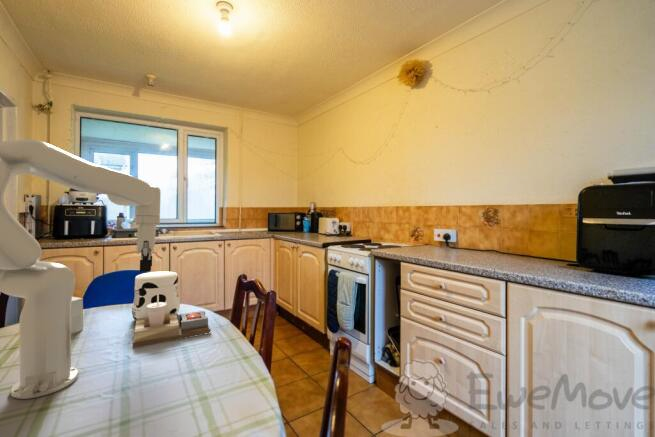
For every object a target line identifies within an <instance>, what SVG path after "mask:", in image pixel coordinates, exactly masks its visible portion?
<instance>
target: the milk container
mask: <svg viewBox="0 0 655 437" xmlns="http://www.w3.org/2000/svg"><path fill="white" fill-rule="evenodd" d="M178 282H179V277H178V273H177V272H174V271H167V270H165V271H164V270H163V271H159V270H158V271H150V272H142V273H141V274H138V275H136V276H135V278H134V289H133V290H134V298H133V303H132V305H131V314H132V318H133V320H135V321H136V320H137V319H138V318H145V317H148V310H147V309H146V308H147V305H149V304H151V303H156V302H157V292H159V302H165V303H167V307H166V310H165V315H166V314H173V313H176V314H178V313H179V311H180V307H181V306H180V305H181V302H180V298H179V293H178V292H179V291H178V290H179V289H178V288H179V283H178Z"/></svg>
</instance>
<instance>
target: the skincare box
mask: <svg viewBox="0 0 655 437" xmlns="http://www.w3.org/2000/svg"><path fill="white" fill-rule="evenodd" d="M83 330H84V298H83V297H77V296H72V301H71V335H72V334H75V333H78V332H81V331H83Z"/></svg>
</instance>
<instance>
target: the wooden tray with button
mask: <svg viewBox="0 0 655 437" xmlns="http://www.w3.org/2000/svg"><path fill="white" fill-rule="evenodd" d="M177 314H178V313H177ZM177 314H176V313H173V314H166V315H165V316H164V323H163V325H158V326H152V327H150V324H149V317H145V318H138V319H137V320H135V328H134V333H133V338H132V348H133V349H134V348H140V347H144V346H150V345H154V344H161V343H167V342H172V341H177V340H176V339H178V340H181V339H180V338H183V339H186V338H185V337H189V338H191V337H190V336H194V337H196V336H195V335H200V334H205V333H209V332H210V333H211V328H210V325H209V318H208V317H209V316H206V311H205V310H200V311H194V312H186V313H180V314H179V318H178V316H177ZM190 314H200V315H201V318H197V319H191V320H187V318H186V316H187V315H190ZM178 319H179V320H178ZM205 335H206V334H205ZM200 336H201V335H200Z"/></svg>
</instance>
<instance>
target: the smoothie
mask: <svg viewBox="0 0 655 437" xmlns="http://www.w3.org/2000/svg"><path fill="white" fill-rule="evenodd" d="M166 307H167V303H165V302H159V292H157V302H156V303H151V304H149V305H147V308H146V309H147V310H148V317H149V324H150V327H152V326H158V325H163V323H164V316H165V310H166Z"/></svg>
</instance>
